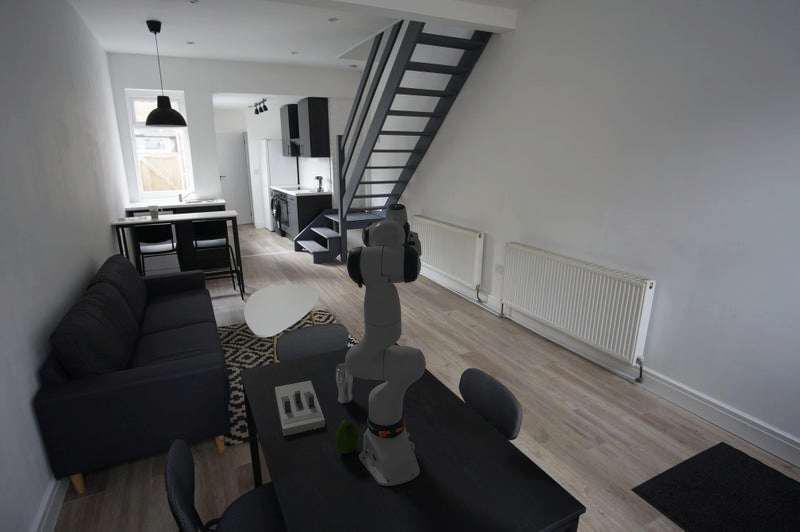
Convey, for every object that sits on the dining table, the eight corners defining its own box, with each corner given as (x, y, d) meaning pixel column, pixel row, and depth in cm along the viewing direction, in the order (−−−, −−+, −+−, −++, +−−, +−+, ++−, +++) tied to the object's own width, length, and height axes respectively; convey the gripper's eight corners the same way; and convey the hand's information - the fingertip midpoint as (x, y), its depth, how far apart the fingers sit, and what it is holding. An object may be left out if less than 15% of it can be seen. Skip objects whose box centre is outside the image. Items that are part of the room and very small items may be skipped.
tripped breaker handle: (301, 402, 166) (300, 393, 165) (295, 403, 165) (295, 394, 164) (300, 399, 167) (299, 390, 166) (295, 400, 167) (294, 391, 166)
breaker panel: (324, 426, 156) (324, 409, 154) (283, 436, 151) (282, 417, 149) (310, 386, 183) (310, 371, 181) (275, 393, 178) (274, 377, 176)
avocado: (337, 461, 139) (336, 429, 136) (334, 445, 146) (333, 415, 143) (361, 456, 141) (360, 425, 138) (357, 441, 148) (356, 412, 145)
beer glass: (355, 395, 177) (354, 362, 173) (351, 404, 170) (350, 371, 166) (339, 394, 177) (337, 362, 174) (334, 403, 171) (333, 370, 167)
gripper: (371, 243, 172) (374, 268, 182) (421, 242, 172) (421, 267, 181) (372, 233, 177) (375, 258, 186) (421, 232, 176) (421, 257, 186)
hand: (398, 262), depth 184 cm, fingers open, 8 cm apart
